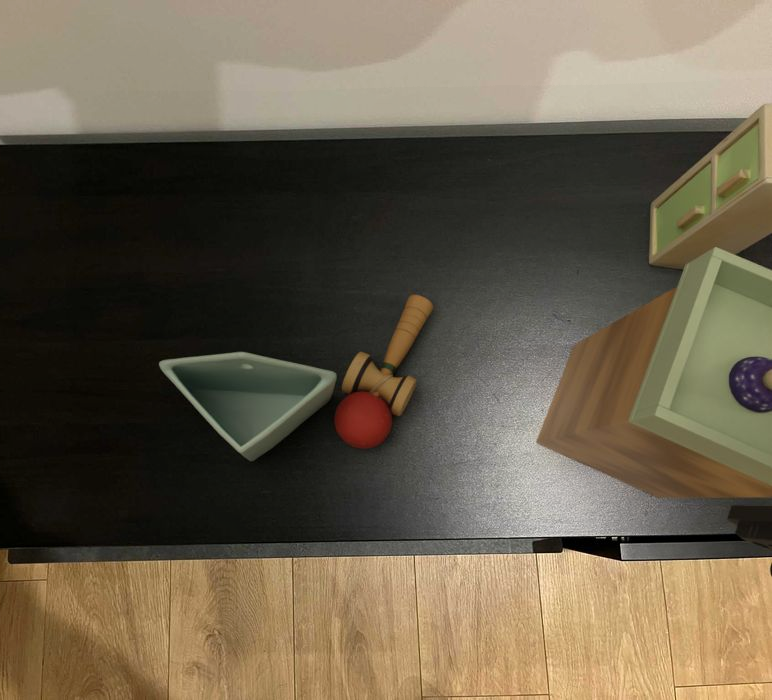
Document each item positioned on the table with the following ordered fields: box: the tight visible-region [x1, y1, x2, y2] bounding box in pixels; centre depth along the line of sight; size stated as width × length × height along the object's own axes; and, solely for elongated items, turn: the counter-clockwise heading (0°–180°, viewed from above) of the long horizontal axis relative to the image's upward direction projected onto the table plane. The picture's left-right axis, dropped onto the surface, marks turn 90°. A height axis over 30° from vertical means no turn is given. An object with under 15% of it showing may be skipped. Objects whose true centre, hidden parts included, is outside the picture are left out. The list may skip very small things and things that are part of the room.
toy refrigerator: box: [648, 103, 772, 271], centre depth 70 cm, size 8×7×21 cm
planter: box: [158, 351, 338, 462], centre depth 66 cm, size 16×8×20 cm, turn 86°
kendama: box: [334, 294, 434, 450], centre depth 74 cm, size 8×6×18 cm
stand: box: [535, 286, 772, 499], centre depth 64 cm, size 14×12×24 cm
